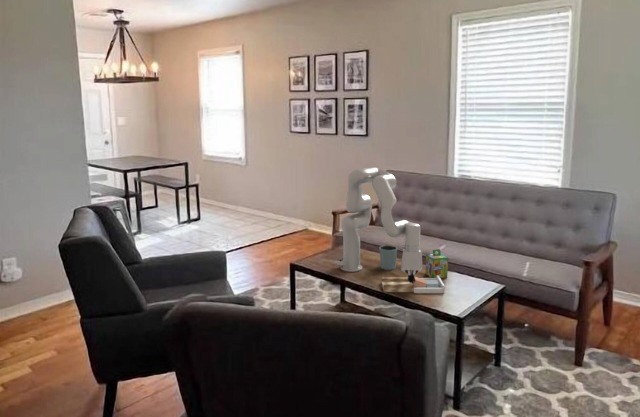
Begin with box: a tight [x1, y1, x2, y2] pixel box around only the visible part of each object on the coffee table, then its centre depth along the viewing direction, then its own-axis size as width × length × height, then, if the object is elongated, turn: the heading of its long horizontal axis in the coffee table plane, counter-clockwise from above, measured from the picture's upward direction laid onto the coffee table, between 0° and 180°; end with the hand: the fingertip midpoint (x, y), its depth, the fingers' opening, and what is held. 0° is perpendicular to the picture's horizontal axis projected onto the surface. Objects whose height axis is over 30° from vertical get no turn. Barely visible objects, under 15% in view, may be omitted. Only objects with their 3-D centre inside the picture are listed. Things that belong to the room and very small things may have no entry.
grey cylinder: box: [379, 244, 398, 271], centre depth 290 cm, size 10×10×12 cm
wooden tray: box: [381, 276, 415, 293], centre depth 259 cm, size 15×12×4 cm
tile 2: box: [425, 280, 439, 288], centre depth 259 cm, size 6×6×4 cm
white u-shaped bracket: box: [411, 275, 446, 294], centre depth 259 cm, size 15×15×4 cm
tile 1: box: [412, 275, 427, 288], centre depth 259 cm, size 6×6×4 cm
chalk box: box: [424, 248, 449, 279], centre depth 275 cm, size 9×9×15 cm
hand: (411, 281), depth 259 cm, fingers closed
